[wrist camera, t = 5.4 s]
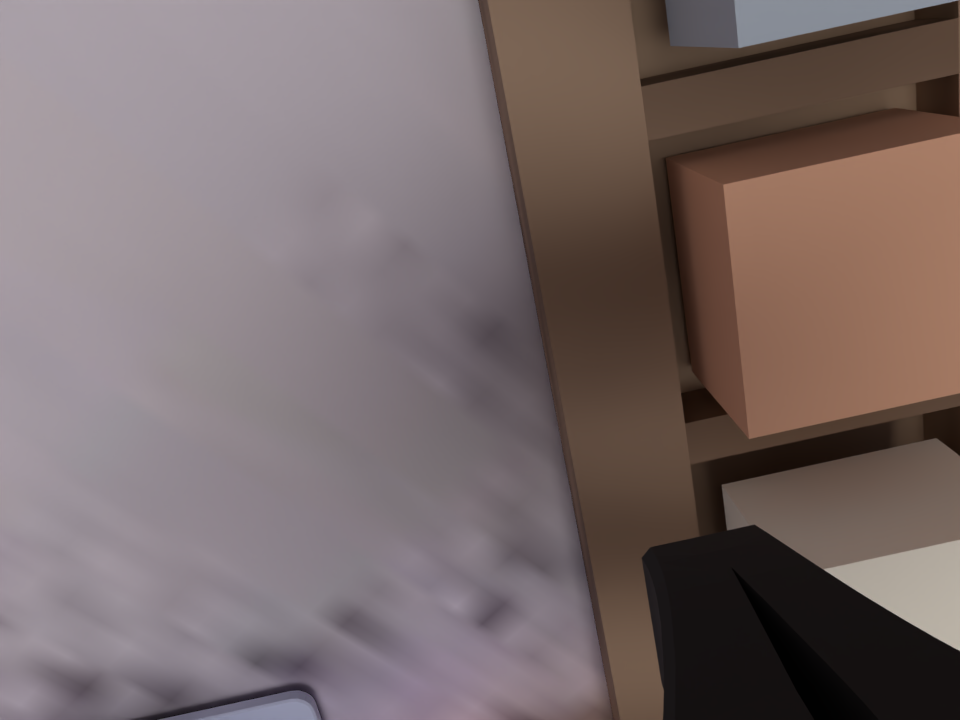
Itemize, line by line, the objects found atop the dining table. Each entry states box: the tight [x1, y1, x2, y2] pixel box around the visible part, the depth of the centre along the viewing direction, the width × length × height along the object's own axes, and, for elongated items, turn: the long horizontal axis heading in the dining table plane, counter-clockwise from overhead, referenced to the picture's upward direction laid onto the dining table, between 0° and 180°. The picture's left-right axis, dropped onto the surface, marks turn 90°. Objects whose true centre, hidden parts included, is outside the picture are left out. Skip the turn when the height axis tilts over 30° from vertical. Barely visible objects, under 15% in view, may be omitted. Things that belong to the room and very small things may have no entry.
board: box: [478, 0, 960, 720], centre depth 18 cm, size 26×11×2 cm, turn 11°
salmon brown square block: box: [666, 108, 960, 439], centre depth 17 cm, size 5×5×4 cm
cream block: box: [722, 438, 960, 651], centre depth 18 cm, size 5×5×4 cm
